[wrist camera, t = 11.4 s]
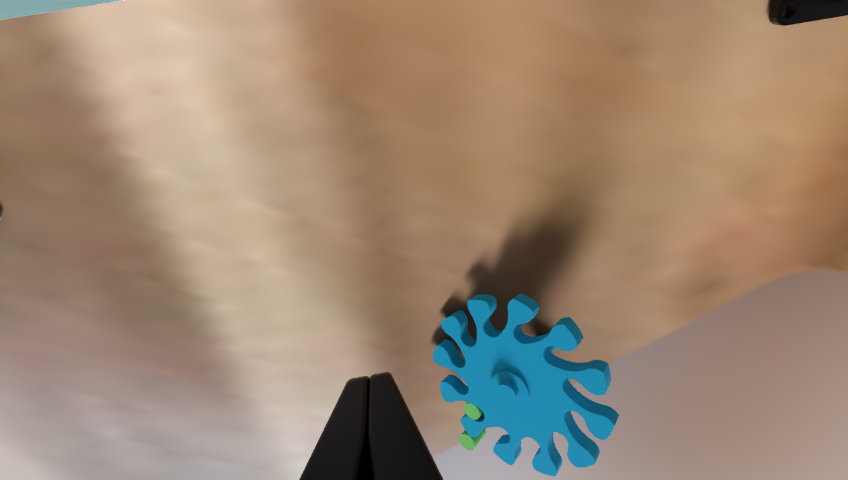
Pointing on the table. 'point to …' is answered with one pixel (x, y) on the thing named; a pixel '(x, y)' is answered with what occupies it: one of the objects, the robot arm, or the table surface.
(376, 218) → the table surface
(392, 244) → the table surface
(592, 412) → the gear
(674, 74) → the table surface
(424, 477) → the robot arm
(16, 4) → the jig
